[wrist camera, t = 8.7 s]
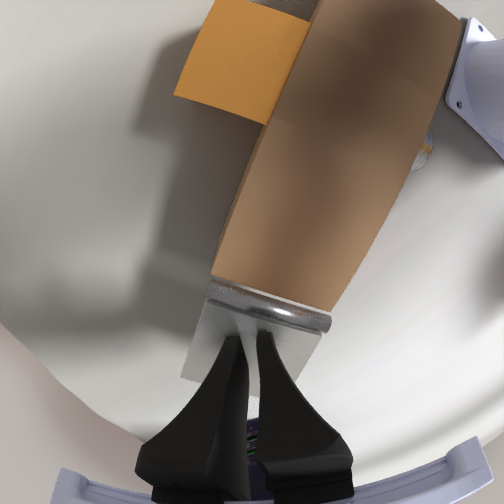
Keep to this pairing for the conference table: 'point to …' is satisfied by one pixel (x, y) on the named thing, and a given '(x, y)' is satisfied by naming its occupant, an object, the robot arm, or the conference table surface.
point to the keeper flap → (252, 331)
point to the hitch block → (337, 147)
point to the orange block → (248, 62)
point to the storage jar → (255, 465)
